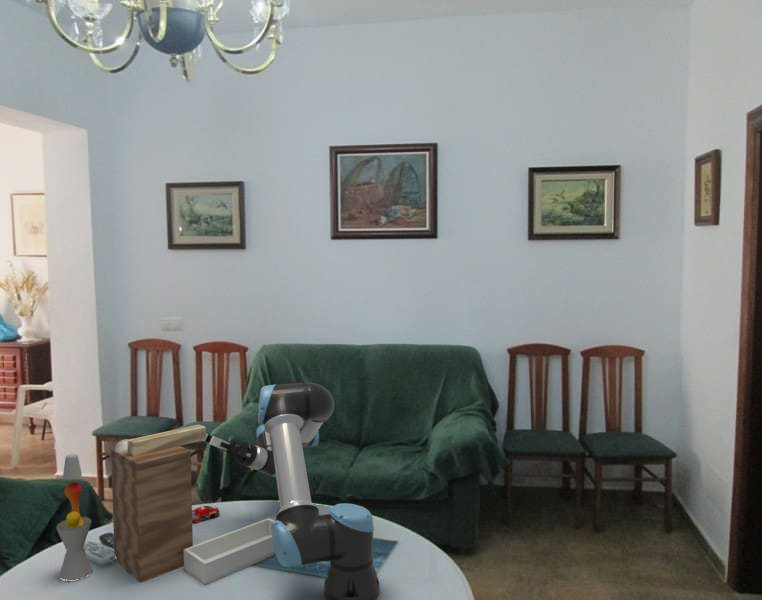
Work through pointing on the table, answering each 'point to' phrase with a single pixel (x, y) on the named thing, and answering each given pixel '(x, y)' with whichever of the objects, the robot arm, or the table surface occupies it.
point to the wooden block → (151, 509)
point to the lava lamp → (74, 526)
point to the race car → (204, 513)
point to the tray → (230, 552)
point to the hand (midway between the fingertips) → (200, 435)
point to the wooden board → (166, 440)
